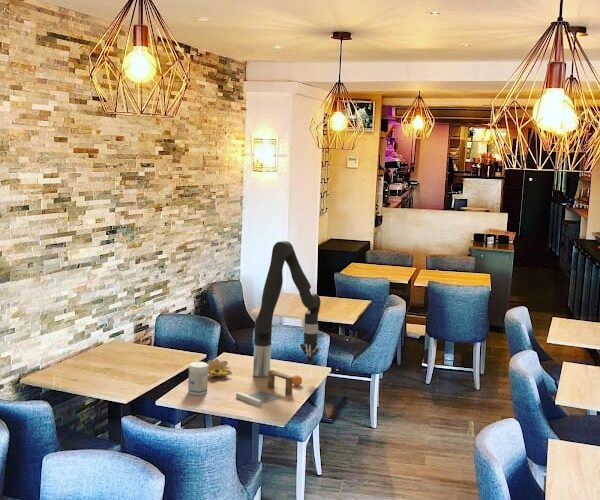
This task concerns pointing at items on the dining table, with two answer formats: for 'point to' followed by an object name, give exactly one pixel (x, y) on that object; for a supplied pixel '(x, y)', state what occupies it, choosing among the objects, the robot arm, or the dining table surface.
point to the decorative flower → (218, 368)
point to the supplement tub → (198, 378)
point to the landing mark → (264, 396)
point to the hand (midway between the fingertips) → (309, 362)
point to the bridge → (274, 373)
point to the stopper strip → (249, 399)
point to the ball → (297, 380)
